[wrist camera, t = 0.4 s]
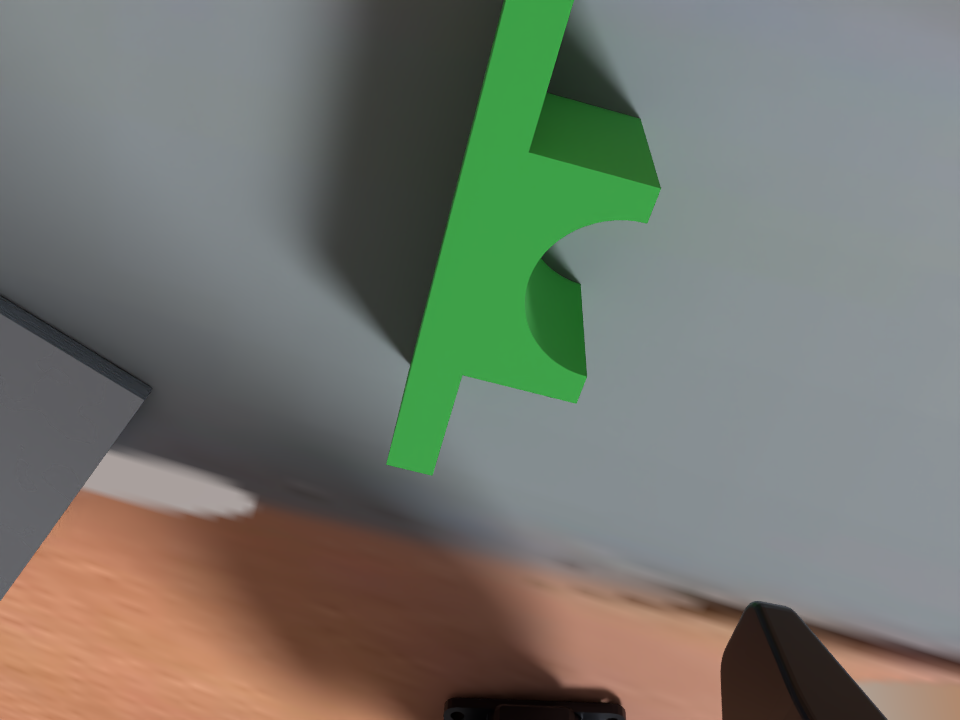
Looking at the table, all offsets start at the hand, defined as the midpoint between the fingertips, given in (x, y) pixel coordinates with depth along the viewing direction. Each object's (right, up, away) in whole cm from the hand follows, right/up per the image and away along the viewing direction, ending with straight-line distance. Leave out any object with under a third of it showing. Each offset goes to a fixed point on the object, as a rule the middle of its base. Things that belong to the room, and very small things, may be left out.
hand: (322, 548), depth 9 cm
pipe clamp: (+3, +6, +13) cm, 14 cm away
